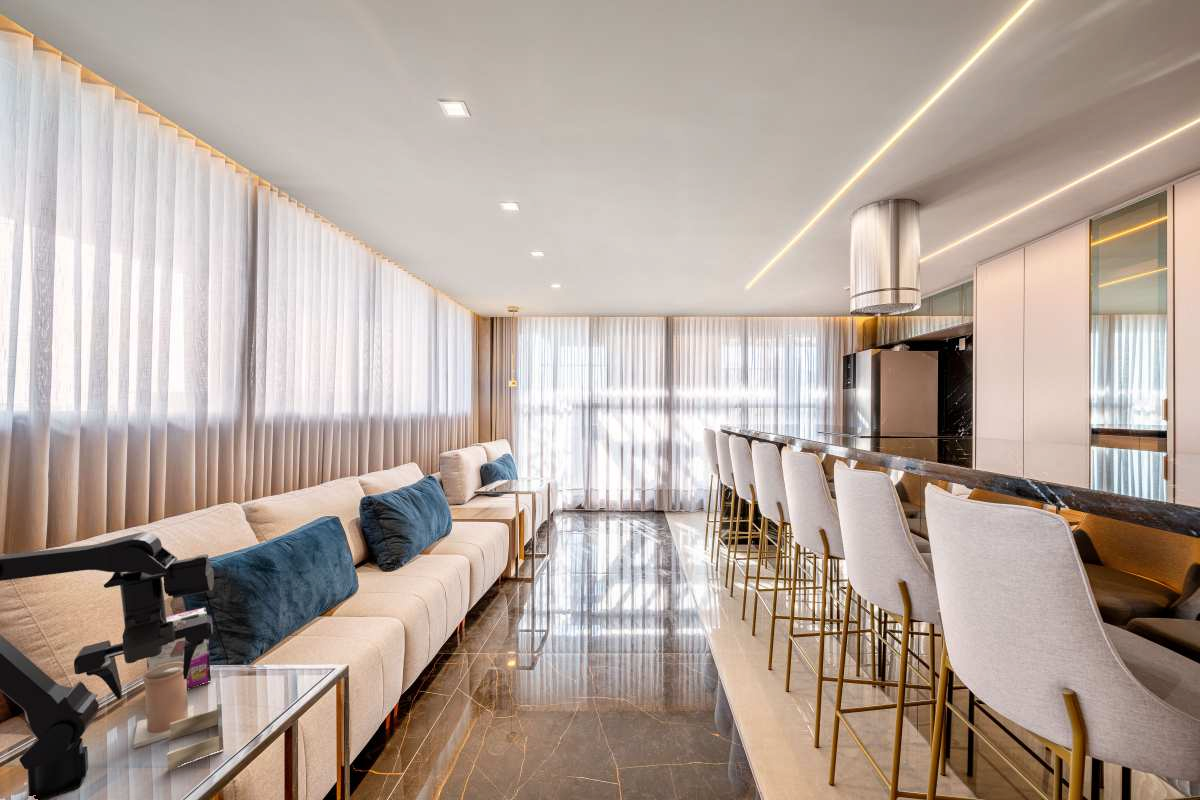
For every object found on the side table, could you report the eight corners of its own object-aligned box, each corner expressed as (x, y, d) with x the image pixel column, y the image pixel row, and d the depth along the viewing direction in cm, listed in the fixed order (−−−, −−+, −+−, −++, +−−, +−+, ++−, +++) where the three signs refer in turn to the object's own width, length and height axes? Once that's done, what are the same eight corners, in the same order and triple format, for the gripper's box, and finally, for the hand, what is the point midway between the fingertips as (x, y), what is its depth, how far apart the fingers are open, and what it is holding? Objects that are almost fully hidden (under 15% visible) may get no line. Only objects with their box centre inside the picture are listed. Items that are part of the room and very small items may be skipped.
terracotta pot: (158, 736, 103) (156, 682, 102) (136, 728, 105) (134, 676, 105) (197, 715, 109) (195, 664, 109) (176, 708, 112) (174, 658, 112)
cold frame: (168, 771, 94) (165, 720, 94) (170, 738, 103) (168, 692, 103) (223, 751, 99) (221, 703, 99) (221, 721, 108) (219, 677, 108)
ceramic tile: (133, 748, 101) (133, 744, 101) (137, 725, 108) (137, 721, 108) (193, 729, 106) (193, 725, 106) (193, 708, 113) (193, 704, 113)
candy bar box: (209, 674, 127) (206, 606, 127) (211, 683, 123) (208, 612, 123) (148, 692, 120) (145, 620, 120) (148, 702, 116) (144, 627, 116)
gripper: (60, 637, 85) (72, 733, 85) (206, 601, 95) (216, 687, 96) (76, 615, 94) (87, 701, 94) (208, 584, 104) (216, 662, 105)
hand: (153, 688), depth 97 cm, fingers open, 9 cm apart
